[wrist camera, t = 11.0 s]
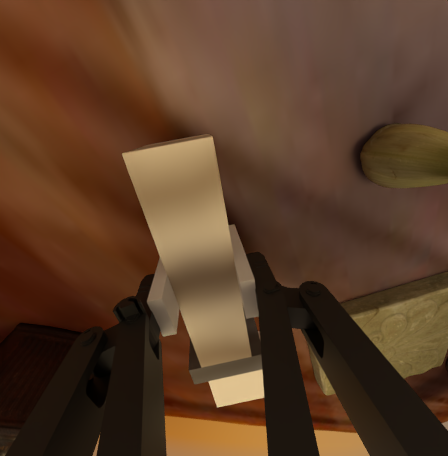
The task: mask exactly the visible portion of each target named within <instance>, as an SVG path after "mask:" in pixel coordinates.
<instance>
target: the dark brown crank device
mask: <svg viewBox="0 0 448 456" xmlns="http://www.w3.org/2000/svg"><path fill="white" fill-rule="evenodd" d="M81 334H82V333H79V332H74V331H69V330H64V329H59V328H54V327H50V326H41V325H33V324H24V323H20V324H19V325H17V327H16V328H15V329H14V330H13V331H12V332H11V333H10V334H9V335H8V336H7V337H6V338H5V340H4V341H3V342H2V343H1V344H0V456H5V455H6V453H7V451H8V450H9V448H10V446H11V445H12V443H13V441H14V440H15V438H16V437H17V435H18V433H19V432H20V430H21V428H22V427H23V425H24V423H25V422H26V420H27V419H28V417H29V415H30V414H31V412H32V410H33V409H34V407H35V405H36V404H37V402H38V401H39V399H40V397H41V396H42V394H43V392H44V391H45V389H46V387H47V386H48V384H49V383H50V381H51V379H52V378H53V376H54V374H55V373H56V371H57V370H58V368H59V366H60V365H61V363H62V361H63V360H64V358H65V356H66V355H67V353H68V352H69V350H70V348H71V347H72V345H73V343H74V342H75V340H76V339H77V338H78V336H79V335H81Z"/></svg>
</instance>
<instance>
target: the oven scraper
mask: <svg viewBox="0 0 448 456" xmlns="http://www.w3.org/2000/svg"><path fill="white" fill-rule="evenodd" d="M122 156H123V159H124V161H125V164H126V167H127V169H128V172H129V175H130V177H131V180H132V183H133V185H134V188H135V191H136V193H137V196H138V199H139V202H140V204H141V207H142V210H143V212H144V215H145V218H146V220H147V223H148V226H149V228H150V231H151V234H152V236H153V239H154V242H155V244H156V247H157V250H158V252H159V255H160V258H161V260H162V263H163V266H164V268H165V271H166V274H167V276H168V278H169V281H170V284H171V286H172V289H173V292H174V295H175V297H176V300H177V303H178V305H179V309H180V311H181V314H182V317H183V319H184V322H185V325H186V327H187V330H188V333H189V335H190V354H189V372H190V374H191V377H192V379H193V381H194V384H199V383H203V382H208V381H212V380H217V379H221V378H226V377H230V376H235V375H239V374H244V373H249V372H253V371H258V370H262V356H261V342H260V338H259V334H258V331H257V327H256V324H255V321H254V317H253V318H248V319H246V316H245V312H244V308H243V305H242V299H241V295H240V290H239V285H238V279H237V273H236V268H235V262H234V254H233V248H232V243H231V237H230V232H229V226H228V220H227V215H226V209H225V203H224V198H223V192H222V186H221V181H220V175H219V170H218V164H217V158H216V153H215V147H214V141H213V136H211V135H209V134H203V135H198V136H193V137H187V138H182V139H177V140H172V141H166V142H161V143H156V144H151V145H146V146H143V147H140V148H137V149H134V150H131V151H128V152H125V153H122Z"/></svg>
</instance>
